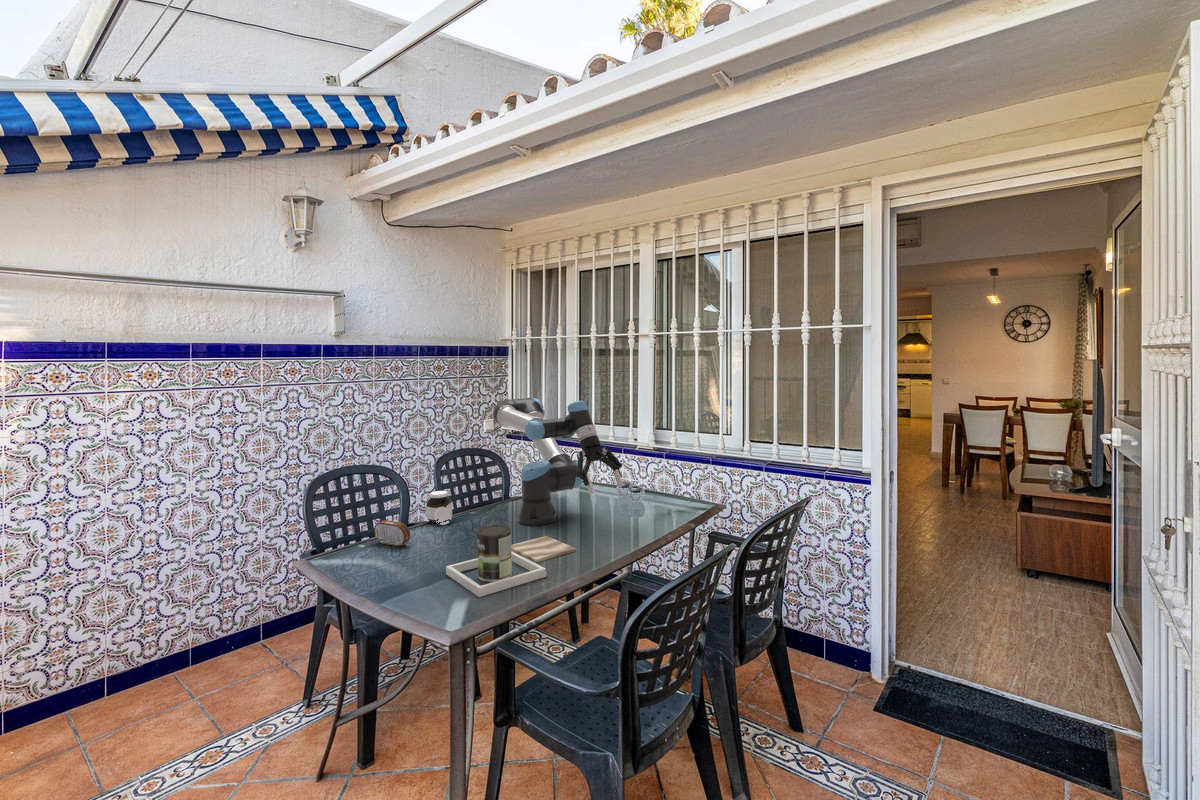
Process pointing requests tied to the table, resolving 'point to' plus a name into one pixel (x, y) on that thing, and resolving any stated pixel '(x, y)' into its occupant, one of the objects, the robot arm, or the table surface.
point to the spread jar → (439, 507)
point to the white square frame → (483, 590)
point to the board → (542, 548)
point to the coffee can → (494, 553)
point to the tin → (392, 532)
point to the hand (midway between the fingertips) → (606, 489)
